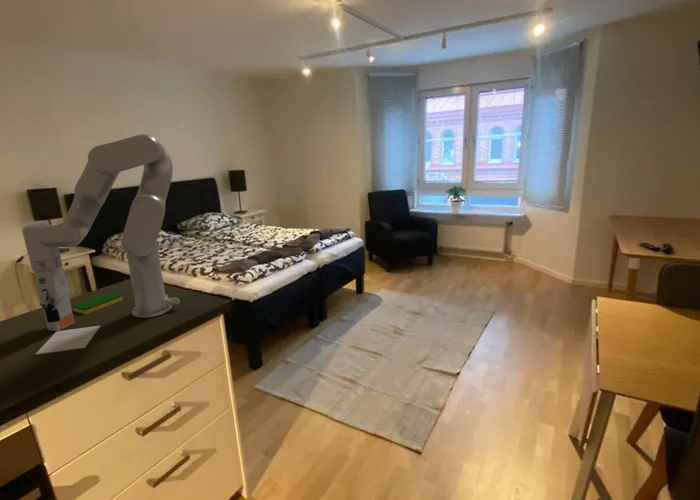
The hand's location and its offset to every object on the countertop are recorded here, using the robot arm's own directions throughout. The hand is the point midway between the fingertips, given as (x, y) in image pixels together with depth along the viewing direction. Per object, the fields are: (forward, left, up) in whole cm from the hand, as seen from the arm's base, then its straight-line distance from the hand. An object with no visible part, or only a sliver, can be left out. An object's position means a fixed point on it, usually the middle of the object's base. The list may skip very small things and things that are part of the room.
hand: (59, 315), depth 122 cm
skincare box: (0, 0, -4) cm, 4 cm away
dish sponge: (-6, -16, -4) cm, 18 cm away
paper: (-6, +11, -4) cm, 13 cm away
